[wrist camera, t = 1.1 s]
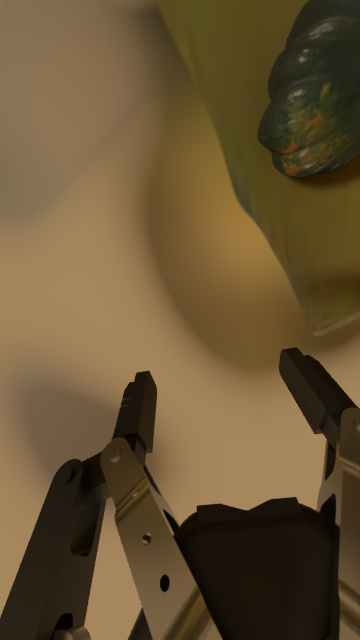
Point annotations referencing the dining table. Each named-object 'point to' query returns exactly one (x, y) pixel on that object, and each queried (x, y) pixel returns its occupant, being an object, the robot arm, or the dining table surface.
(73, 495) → the robot arm
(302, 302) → the dining table surface
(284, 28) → the dining table surface
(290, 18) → the dining table surface
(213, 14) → the dining table surface
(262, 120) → the squash
